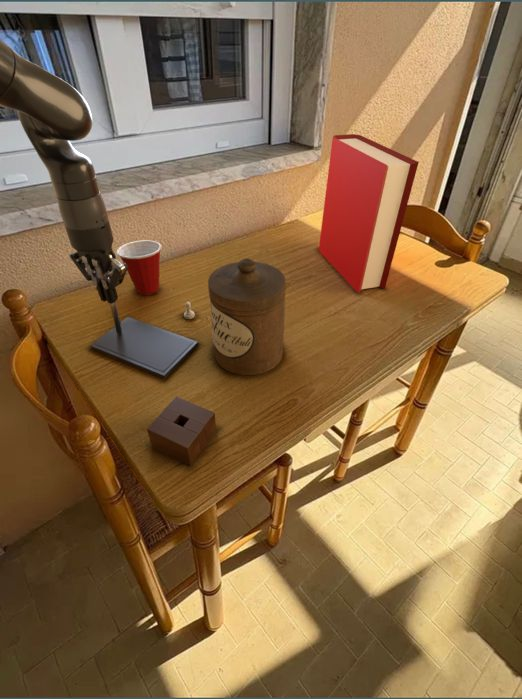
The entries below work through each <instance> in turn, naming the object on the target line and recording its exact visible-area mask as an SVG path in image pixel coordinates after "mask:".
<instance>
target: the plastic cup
mask: <svg viewBox="0 0 522 699" xmlns="http://www.w3.org/2000/svg"><path fill="white" fill-rule="evenodd" d="M161 249H162V245H161V242H158V241H156V240H155V241H154V240H151V239H150V240H149V239H148V240H146V239H145V240H136V241H131V242H128V243H124V244H123V245H121V246H119V247H118V248H117V249H116V254H117V256H119V258H120V259H121V261H122V264H123V263H126V264H127V265H128V269H127V273H128V275H129V277H130V280H131V282H132V283H133V286H134V288H135V290H136V292H137V293H138V294H139V295H142V296H143V295H145V296H148V295H153V294H155V293H156V292H158V291H159V289H160V259H161Z"/></svg>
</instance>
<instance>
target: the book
mask: <svg viewBox="0 0 522 699" xmlns="http://www.w3.org/2000/svg"><path fill="white" fill-rule="evenodd" d="M328 163H329V164H328V172H327V180H326V188H325V195H324V205H323V212H322V219H321V227H320V236H319V244H318V252H319V253H320V254H321V255H322V256H323V257H324V258H325V259H326V260H327V262H329V263H330V265H331V266H332V267H333V268H334V269H335V270H336V271H337V272H338V274H340V275H341V277H343V279H344V280H345V281H346V282H347V283H348V284H349V285H350V286H351V288H352V289H353V290H354V291H355V292H356V293H357V294H360V292H361V291H362V290H365V289H366V290H367V289H372V288H378V287H379V288H381V289H384V290H385V289H386V286H387V283H388V279H389V274H390V271H391V267H392V263H393V259H394V256H395V252H396V248H397V246H398V241H399V239H400V238H399V237H400V233H401V230H402V226H403V222H404V219H405V215H406V211H407V208H408V204H409V199H410V197H411V193H412V190H413V185H414V181H415V177H416V173H417V170H418V167H419V161H418V160H416V159H413V158H411V157H408V156H407V155H404V154H402V153H400V152H398V151H396V150H394V149H391V148H389V147H386V146H385V145H383V144H381V143H379V142H376V141H374V140H372V139H369V138H367V137H365V136H363V135H361V134H356V133H352V134H350V133H349V134H348V133H347V134H334V135H333V136H332V140H331V148H330V156H329V162H328Z"/></svg>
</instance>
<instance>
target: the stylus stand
mask: <svg viewBox="0 0 522 699" xmlns="http://www.w3.org/2000/svg"><path fill="white" fill-rule="evenodd" d="M146 431H147V434H148V438H149V442H150V444H151V447H152V448H153V449H155V450H157V451H159V452H161V453H163V454H166V455H168V456H170V457H171V458H173V459H176V460H178V461H179V462H181V463H183V464H186V465H188V466H190V467H191V466H192V465H193V464H194V462H195V461H196V460H197V458H198V457H199V455H200V454H201V453H202V451H204V449H205V447H206V446H207V444H208V443H209V442H210V440H211V439H212V438H213V436H214V435H215V434H216V432H217V422H216V412H214V411H213V410H210V409H207V408H206V407H202V406H200V405H199V404H198V405H197V404H196V403H193V402H190V401H189V400H186V399H183V398H181V397H179V396H175V397H174V398H173V399H172V400H171V402H170V403H168V404H167V406H166V407H165V408H164V409H163V410H162V411H161V412H160V413H159V415H158V416H157V417H156V418H155V419H154V421H152V422H151V424H150V425H149V426H148V427H146Z"/></svg>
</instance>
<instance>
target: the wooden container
mask: <svg viewBox="0 0 522 699" xmlns="http://www.w3.org/2000/svg"><path fill="white" fill-rule="evenodd" d="M286 284H287V283H286V276H285V275H284V273H283V272H282V271H281V270H280V269H278V268H277V267H275V266H273V265H270V264H268V263H263V262H260V261H254V259H251V258H249V257H248V258H243V259H241V260H240V261H236V262H231V263H227V264H224V265H222V266H219V267H217V268H216V269H214V270H213V271H212V272H211V273H210V275H209V276H208V279H207V287H208V296H209V305H210V316H211V320H210V321H211V334H212V342H213V352H214V358H215V360H216V362H217V363H218V365H219V366H221V368H222V369H225V370H226V371H228V372H229V373H233V374H235V375H241V376H256V375H261V374H264V373H266V372H269V371H271V370H272V369H274V368H275V367H276V366H278V364H279V363H281V362H280V361H281V360H282V358H283V352H284V351H283V350H284V335H285V308H286V305H285V304H286V290H287V289H286Z"/></svg>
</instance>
